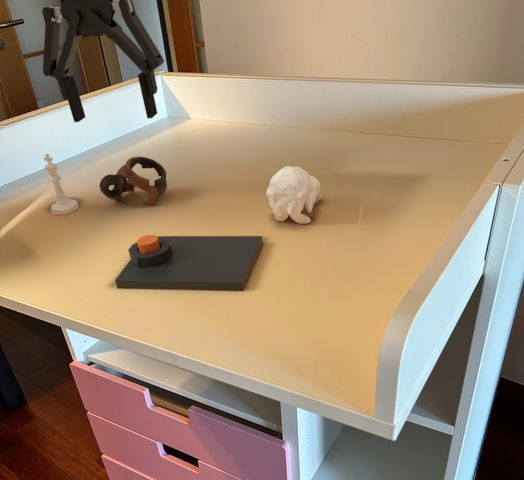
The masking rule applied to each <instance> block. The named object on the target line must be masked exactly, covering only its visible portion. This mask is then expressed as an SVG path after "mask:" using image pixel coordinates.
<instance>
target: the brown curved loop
mask: <svg viewBox="0 0 524 480" xmlns="http://www.w3.org/2000/svg"><path fill="white" fill-rule="evenodd" d="M136 165H140V166H141V169H154V170H155V172H156V173H157V175H158V177H159V178H157V179H154V182H153V184H154V185H150V183H151V182H150V179H148V178H146V177H143V176H141V175H139V174H137V173H136V172H135V171H134V170H133V168H134V167H136ZM110 186H113V187H112V189H110ZM135 188H138V189H139V190H142V191H145V192H146V193H148V198H147V204H148V205H151V206H155V205H156V204H157V202H158V201H159V198H161V197H162V196H163V195H164V194H165V192H166V190H167V189H168V183H167V172H166V170H165V167H163V165H162V164H160V163H159V162H158V161H156V160H154V159H153V158H150V157H145V156H133V157H130V158H128V159H127V160H126V162H125V164H123V165H122V166H121V167H120V168H119V169H118V170H117V172H116V173H115V174H111V173H109V174H107V175H104V176H103V177H102V178H101V180H100V181H99V190H100V192H101V193H102V194H103V195H104V196H105V197H106V198H108V199H111V200H114V201H115V202H116V203H118V204H122V203H123V194H124V193H132V192H133V193H134V192H135Z"/></svg>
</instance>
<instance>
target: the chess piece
mask: <svg viewBox="0 0 524 480" xmlns="http://www.w3.org/2000/svg"><path fill="white" fill-rule="evenodd" d="M44 156H45V157H43V160H44V161H46V163H47V164H45V166H44V169H45V170H46V171H47V173H48V174H49V176H50V177H49V178H48V182H49V183H53V186H54V190H55V195H56V201H55V203H53V204H51V207H50V210H51V213H52V214H54V215H66V214H69V213H72V212H75V210H77V209H78V208H79V206H80V205H79V204H78V201H77V200H75V199H71V198H69V197H67V196H66V194H65V191H64V189H63V187H62V185H61V183H60V181H61V180H62V177H61V176H60V175H58V169H57V168H58V167H57V166H58V165H57V163H55V162H53V161H54V159H53V157H51V156H50V154H49V153H45V154H44Z"/></svg>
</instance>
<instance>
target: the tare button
mask: <svg viewBox="0 0 524 480" xmlns="http://www.w3.org/2000/svg"><path fill="white" fill-rule="evenodd" d="M157 236H158V235H156V234H146V235H143V236H141V237H139V238H138V239H137V240H136V242H137V244H138V248H139V252H140V253H151V252H155V251H157V250H159V249H160V244H159V240H158V237H157Z"/></svg>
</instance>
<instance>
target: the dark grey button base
mask: <svg viewBox="0 0 524 480" xmlns="http://www.w3.org/2000/svg"><path fill="white" fill-rule="evenodd" d="M156 236H157V237H158V240H159V244H160V249H159V250H157V251H155V252H151V253H140V252H139V248H138V244H137V241H136V242H134V243H132V245H131V246H130V247H129V248H128V249H127V250H128V254H129V258H130V260H129V261H128V263H127V264H126V265H125V266H124V268H123V269H122V270H121V271H120V272H119V274H118V275H117V277H116V278H115V279H114V282H115V284H116V288H117V289H126V290H127V289H129V290H130V289H131V290H171V291H173V290H174V291H216V292H217V291H220V292H221V291H222V292H243V291H244V290H245V287H246V285H247V283H248V280H249V278H250V275H251V273H252V271H253V268H254V266H255V264H256V261H257V259H258V257H259V254H260V252H261V249H262V248H263V245H264V241H263V236H262V235H156Z"/></svg>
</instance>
